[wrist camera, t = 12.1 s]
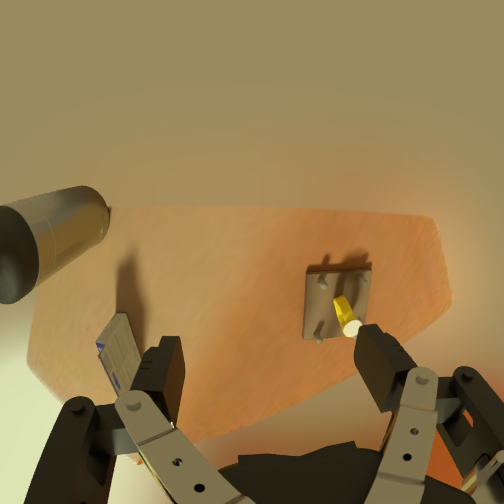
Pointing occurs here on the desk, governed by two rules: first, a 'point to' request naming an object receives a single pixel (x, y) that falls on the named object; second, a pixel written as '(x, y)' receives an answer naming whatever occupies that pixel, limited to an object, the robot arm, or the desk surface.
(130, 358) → the ink box
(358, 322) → the watch
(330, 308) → the pin plate
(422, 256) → the desk surface
